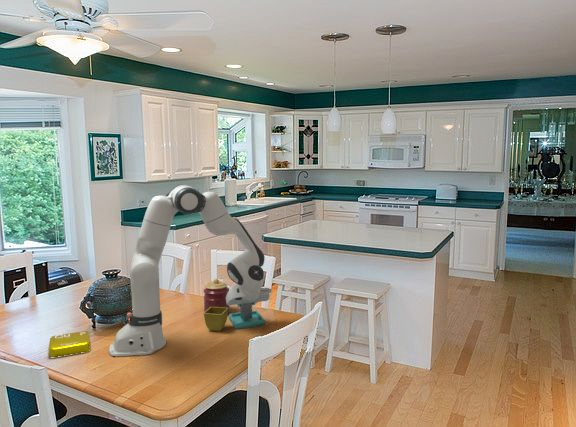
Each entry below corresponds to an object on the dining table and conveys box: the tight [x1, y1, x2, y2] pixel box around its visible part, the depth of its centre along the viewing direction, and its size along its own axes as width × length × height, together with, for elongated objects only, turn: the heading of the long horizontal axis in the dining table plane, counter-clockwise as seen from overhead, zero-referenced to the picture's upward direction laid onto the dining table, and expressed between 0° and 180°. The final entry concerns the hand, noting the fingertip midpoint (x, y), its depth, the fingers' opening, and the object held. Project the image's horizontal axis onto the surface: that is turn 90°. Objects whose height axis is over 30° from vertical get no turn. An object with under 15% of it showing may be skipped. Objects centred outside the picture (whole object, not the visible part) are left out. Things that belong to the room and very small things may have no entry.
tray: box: [228, 310, 266, 330], centre depth 214 cm, size 14×14×2 cm
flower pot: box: [203, 307, 229, 332], centre depth 205 cm, size 9×9×9 cm
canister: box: [203, 278, 231, 314], centre depth 226 cm, size 13×13×18 cm
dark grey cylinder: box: [239, 303, 253, 319], centre depth 213 cm, size 6×6×11 cm
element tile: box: [48, 330, 91, 358], centre depth 186 cm, size 15×15×5 cm
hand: (245, 304), depth 214 cm, fingers closed on dark grey cylinder, 5 cm apart
